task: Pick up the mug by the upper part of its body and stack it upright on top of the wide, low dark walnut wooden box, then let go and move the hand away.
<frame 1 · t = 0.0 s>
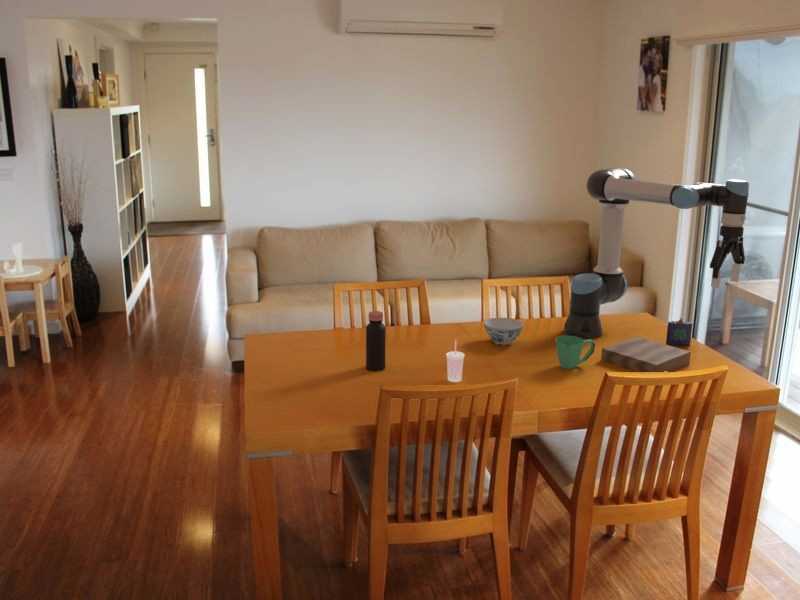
hand: (724, 284, 271), 28 cm above the table, tool pointing down, fingers open, 13 cm apart
beverage cup: (454, 380, 256), on the table
walnut box: (644, 363, 275), on the table
chinaware: (502, 342, 295), on the table
mug: (574, 366, 269), on the table
bottle: (375, 368, 266), on the table
flask: (678, 345, 294), on the table
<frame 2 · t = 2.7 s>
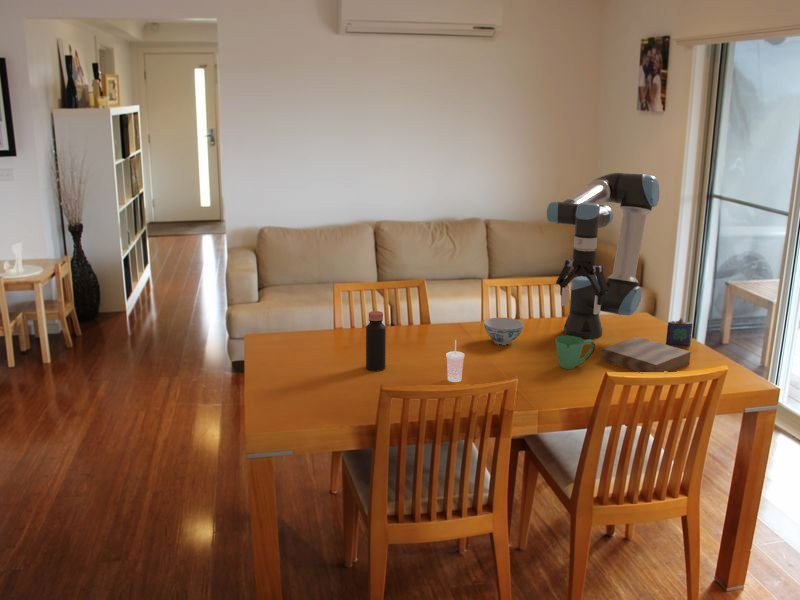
hand: (580, 309, 264), 21 cm above the table, tool pointing down, fingers open, 13 cm apart
nothing on the table moved.
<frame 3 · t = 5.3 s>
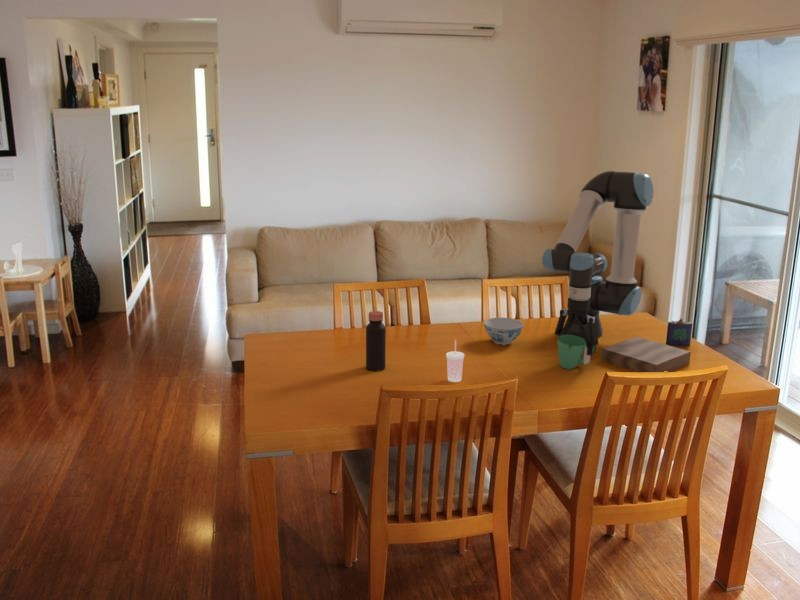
hand: (574, 359, 269), 3 cm above the table, tool pointing down, fingers closed on mug, 10 cm apart
mug: (574, 366, 269), on the table, touching gripper
everything else where it was.
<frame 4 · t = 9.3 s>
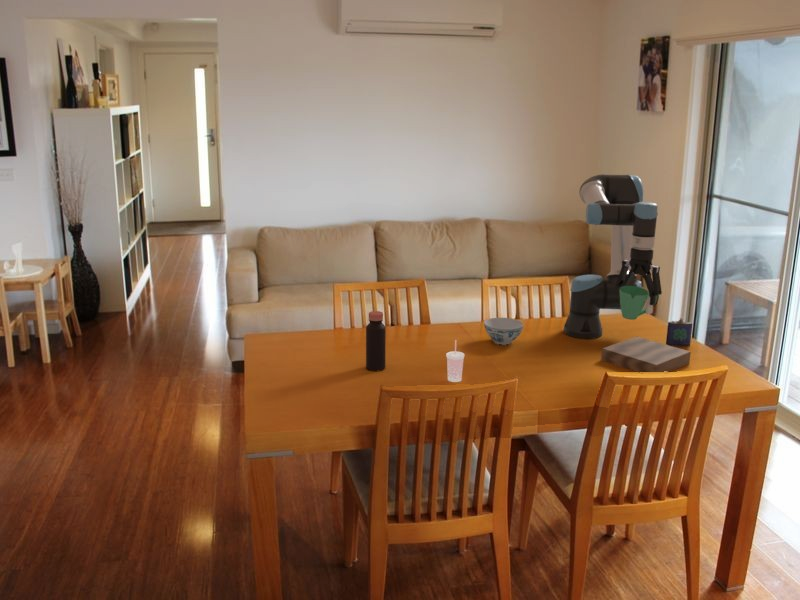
hand: (636, 310, 268), 20 cm above the table, tool pointing down, fingers closed on mug, 10 cm apart
mug: (635, 317, 269), point 17 cm above the table, touching gripper
everything else where it was.
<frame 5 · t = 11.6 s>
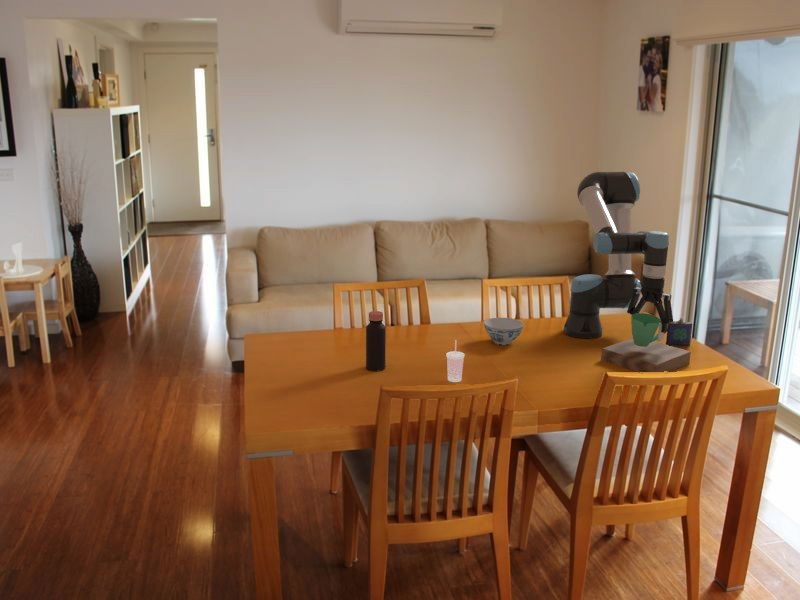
hand: (647, 337, 272), 9 cm above the table, tool pointing down, fingers closed on mug, 10 cm apart
mug: (646, 344, 273), point 7 cm above the table, touching gripper
everything else where it was.
when the fingers open (8 cm above the table, at t = 13.3 s): mug drops 1 cm, point 4 cm above the table.
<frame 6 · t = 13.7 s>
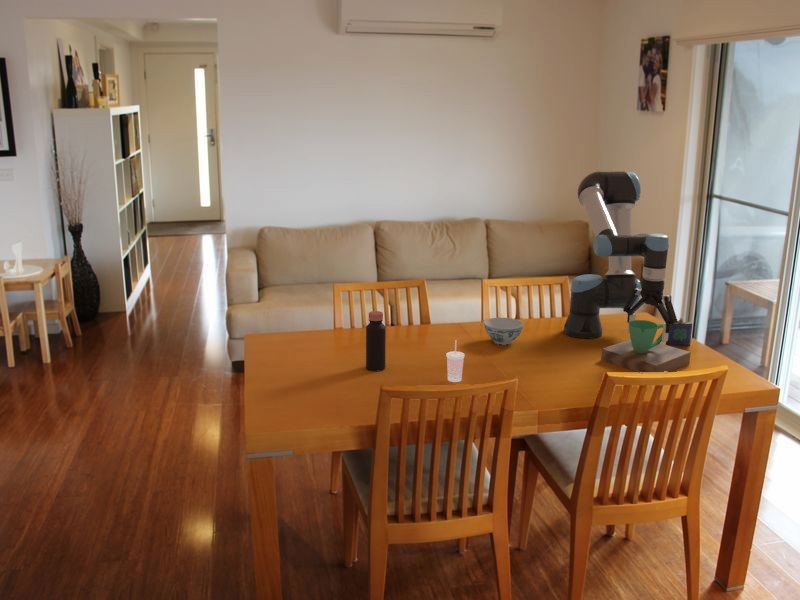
hand: (647, 336, 272), 10 cm above the table, tool pointing down, fingers open, 13 cm apart
mug: (646, 350, 273), point 4 cm above the table
everything else where it was.
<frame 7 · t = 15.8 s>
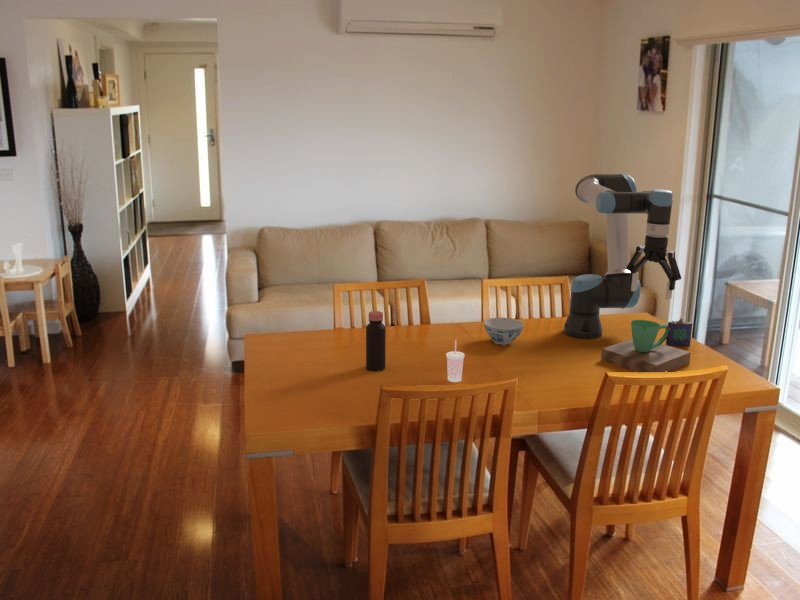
hand: (650, 294, 269), 25 cm above the table, tool pointing down, fingers open, 13 cm apart
walnut box: (644, 363, 275), on the table, touching mug
mug: (648, 350, 274), point 4 cm above the table, touching walnut box
everything else where it was.
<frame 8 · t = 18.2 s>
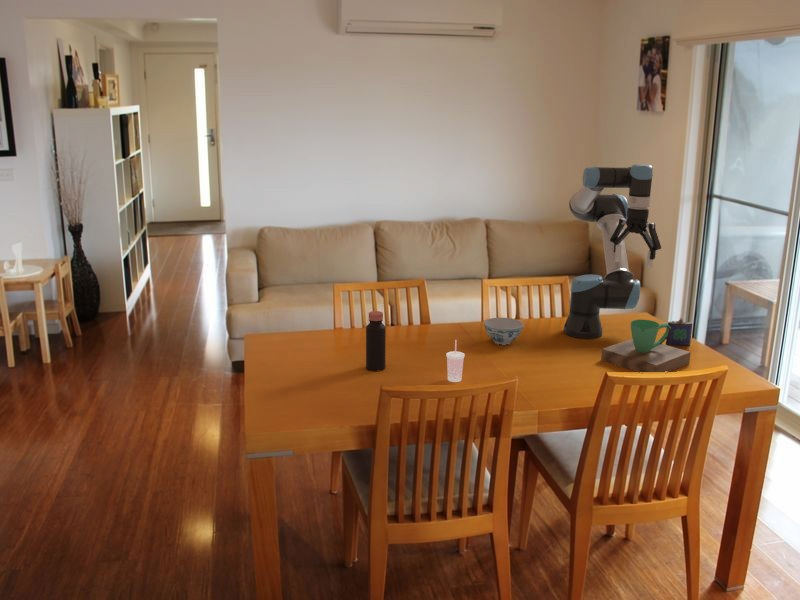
hand: (633, 264, 283), 32 cm above the table, tool pointing down, fingers open, 13 cm apart
at the end: mug inside the target area on the walnut box (1.2 cm from its centre), point 5.0 cm above the walnut box's base; mug tilted 2°; the gripper is holding nothing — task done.
